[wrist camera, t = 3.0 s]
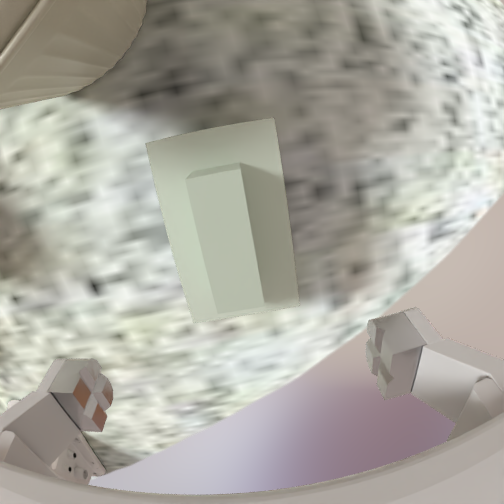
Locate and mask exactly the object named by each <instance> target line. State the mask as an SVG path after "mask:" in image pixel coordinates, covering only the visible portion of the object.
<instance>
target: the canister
mask: <svg viewBox="0 0 504 504" xmlns="http://www.w3.org/2000/svg"><path fill="white" fill-rule="evenodd" d="M146 4H147V0H0V109H5V108H9V107H14V106H19V105H23V104H28V103H32V102H37V101H42V100H47V99H51V98H56V97H61V96H65V95H68V94H70V93H71V92H76V91H79V90H81V89H82V88H83V87H85V86H87V85H91V84H92V83H93V82H94V81H95V80H97V79H98V78H101V77H103V76H104V75H105V73H106V72H107V71H108V70H110V69H112V68H113V67H114V66H115V64H116V63H117V62H118V61H119V60H120V59H122V58H123V55H124V54H125V52H126V51H127V50H128V49H129V48H130V47H131V44H132V42H133V40H134V39H135V38H136V37H137V34H138V31H139V29H140V27H141V26H142V23H143V17H144V15H145V14H146Z"/></svg>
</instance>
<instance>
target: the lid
mask: <svg viewBox="0 0 504 504" xmlns="http://www.w3.org/2000/svg"><path fill="white" fill-rule="evenodd" d="M146 148H147V152H148V157H149V162H150V166H151V170H152V175H153V179H154V183H155V188H156V192H157V196H158V200H159V204H160V208H161V212H162V216H163V220H164V224H165V228H166V231H167V235H168V239H169V242H170V246H171V250H172V253H173V257H174V260H175V264H176V267H177V271H178V274H179V278H180V281H181V284H182V288H183V291H184V294H185V298H186V301H187V304H188V307H189V310H190V313H191V317H192V320H193V323H199V322H206V321H213V320H219V319H226V318H232V317H239V316H245V315H251V314H257V313H262V312H268V311H274V310H280V309H285V308H290V307H296V306H300V303H299V293H298V284H297V276H296V267H295V259H294V251H293V243H292V235H291V227H290V219H289V212H288V205H287V198H286V190H285V184H284V177H283V170H282V163H281V157H280V150H279V144H278V138H277V131H276V125H275V119H274V118H267V119H260V120H254V121H247V122H241V123H236V124H230V125H225V126H219V127H214V128H209V129H204V130H199V131H195V132H190V133H186V134H181V135H177V136H173V137H169V138H164V139H160V140H156V141H153V142H149V143H146Z"/></svg>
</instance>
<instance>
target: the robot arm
mask: <svg viewBox="0 0 504 504" xmlns="http://www.w3.org/2000/svg"><path fill="white" fill-rule="evenodd" d="M367 333H368V334H369V336H370V339H369V340H368V342H367V343H366V357H367V362H368V365H369V368H370V370H371V373H372V374H374V375H376V376H378V379H377V385H378V388H379V390H380V392H381V394H382V396H383V398H384V400H388V399H391V398H395V397H398V396H402V395H405V394H408V393H411V394H412V395H414V396H415V397H417V398H418V399H420V400H421V401H423V402H424V403H426V404H428V405H429V406H430V407H432V408H433V409H435V410H436V411H438V412H439V413H441V414H442V415H444V416H446V417H447V418H449V419H450V420H452V421H453V422H455V423H456V424H455V426H454V428H453V430H452V432H451V434H450V435H449V437H448V439H447V442H445V443H443V444H440V445H438V446H436V447H434V448H431V449H429V450H426V451H424V452H422V453H419V454H416V455H414V456H411V457H408V458H405V459H403V460H400V461H397V462H394V463H391V464H388V465H385V466H382V467H379V468H375V469H372V470H368V471H365V472H361V473H358V474H354V475H350V476H346V477H342V478H338V479H333V480H329V481H325V482H320V483H314V484H309V485H303V486H298V487H292V488H285V489H277V490H270V491H261V492H250V493H237V494H217V495H177V494H176V495H175V494H174V495H173V494H157V493H144V492H133V491H124V490H117V489H110V488H103V487H97V486H91V485H88V484H89V481H90V479H91V476H102V475H104V474H105V473H106V470H105V468H104V467H103V465H102V464H101V462H100V461H99V460H98V458H97V457H96V455H95V454H94V452H93V451H92V449H91V447H90V446H89V444H88V443H87V441H86V440H85V438H84V436H83V435H82V433H81V431H93V432H102V430H103V427H104V424H105V421H106V418H107V414H106V412H105V410H107V409H108V408H109V407H110V406H111V404H112V400H113V389H112V386H111V383H110V381H109V380H108V378H107V377H105V376H104V375H103V374H101V366H100V365H99V363H98V361H97V360H95V359H57V360H54V361H53V363H52V365H51V366H50V368H49V370H48V371H47V373H46V375H45V377H44V378H43V380H42V382H41V383H40V385H39V387H38V389H37V390H36V392H35V391H33V392H31V393H30V394H28V395H27V396H26V397H24V398H23V399H22V400H20V401H19V400H12V401H9V402H8V404H7V410H6V411H5V412H4V413H3V414H1V415H0V504H504V359H502V358H499V357H496V356H494V355H491V354H489V353H486V352H483V351H481V350H478V349H476V348H473V347H471V346H468V345H465V344H463V343H460V342H458V341H455V340H453V339H450V338H445V339H443V338H442V337H441V335H440V334H439V333H438V331H437V330H436V329H435V328H434V327H433V325H432V324H431V323H430V322H429V320H428V319H427V318H426V317H425V316H424V314H423V313H422V312H421V311H420V310H419V309H418V308H416V307H414V308H410V309H407V310H404V311H400V312H398V313H394V314H390V315H387V316H383V317H379V318H375V319H371V320H369V321H368V324H367Z"/></svg>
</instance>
